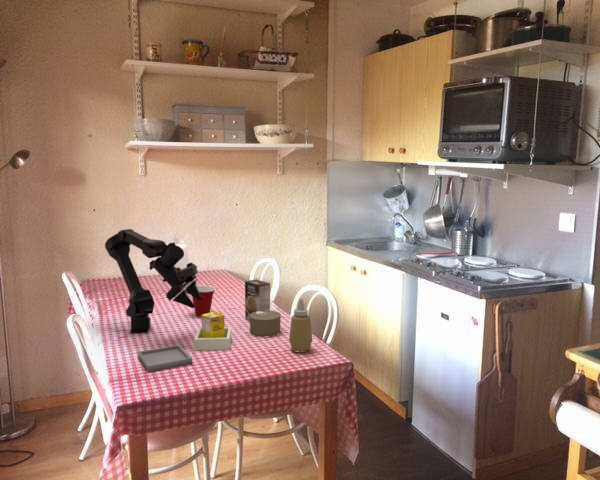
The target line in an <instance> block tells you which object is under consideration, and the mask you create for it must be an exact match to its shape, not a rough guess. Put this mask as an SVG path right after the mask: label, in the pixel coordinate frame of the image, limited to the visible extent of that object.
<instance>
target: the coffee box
mask: <svg viewBox="0 0 600 480" xmlns="http://www.w3.org/2000/svg"><path fill="white" fill-rule="evenodd" d="M264 310H268V311H271V283H270V282H267V281H263V280H260V279H257V278H256V279H251V280H245V281H244V313H245V315H244V316H245V317H244V319H245V320H247V321H249V322H250V317H249V315H250V314H251V313H253V312H256V311H264Z"/></svg>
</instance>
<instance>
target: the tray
mask: <svg viewBox="0 0 600 480" xmlns="http://www.w3.org/2000/svg"><path fill="white" fill-rule="evenodd" d="M137 358H138V359H139V361H140V363H141V364H142V365H143V366H144V368H145V369H146V371H147V373H152V372H157V371H163V370H169V369H174V368H178V367H184V366H188V365H193V358H192V356H191V355H190V354H189V353H188V352H187V351H186V350H185V348H183V347H182V346H181V345H180V344H176V345H170V346H169V345H168V346H163V347H157V348H153V349H146V350H145V349H144V350H140V351H137Z"/></svg>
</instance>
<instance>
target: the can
mask: <svg viewBox="0 0 600 480" xmlns="http://www.w3.org/2000/svg"><path fill="white" fill-rule="evenodd" d="M249 317H250V321H249V330H250V331H249V333H250V335H251V336H255V337H257V336H260V337H259V338H266V337H265V336H272V337H274V336H273V335H276V336H277V334H278V333H280V334H281V317H282V314H281V313H280V312H278V311H276V310H275V311H274V310H270V311H268V310H264V311H256V312H253V313H251V314H250V315H249ZM278 335H279V334H278Z"/></svg>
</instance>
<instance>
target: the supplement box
mask: <svg viewBox="0 0 600 480" xmlns="http://www.w3.org/2000/svg"><path fill="white" fill-rule="evenodd" d="M201 316H202V317H201V328H202V338H225V328H226V327H225V325H226V324H225V322H226V321H225V314H223V313H220V312H218V311H210V313H207V314H202V315H201Z"/></svg>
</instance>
